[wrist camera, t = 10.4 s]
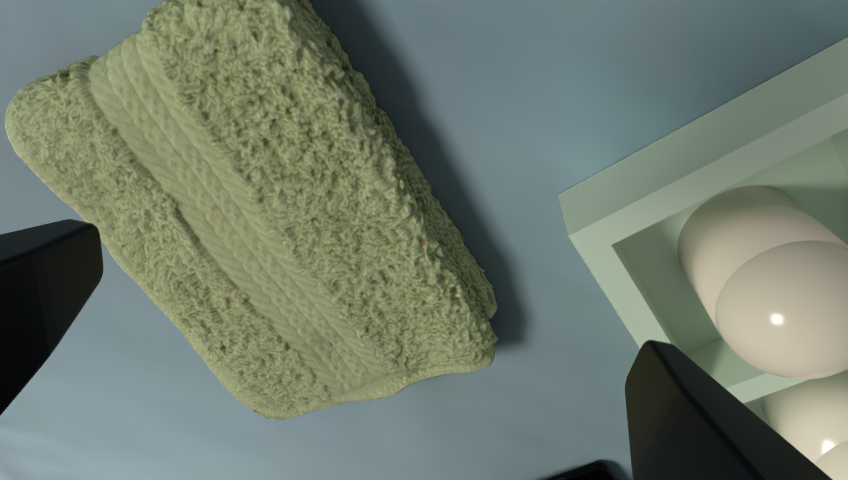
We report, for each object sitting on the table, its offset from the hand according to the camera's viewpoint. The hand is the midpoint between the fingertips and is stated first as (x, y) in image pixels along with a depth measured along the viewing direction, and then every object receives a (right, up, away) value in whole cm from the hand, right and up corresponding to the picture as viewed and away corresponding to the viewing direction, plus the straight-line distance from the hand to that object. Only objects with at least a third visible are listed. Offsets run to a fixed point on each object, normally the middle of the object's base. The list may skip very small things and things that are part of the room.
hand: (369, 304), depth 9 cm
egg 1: (+12, +1, +11) cm, 17 cm away
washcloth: (-5, +2, +14) cm, 15 cm away
